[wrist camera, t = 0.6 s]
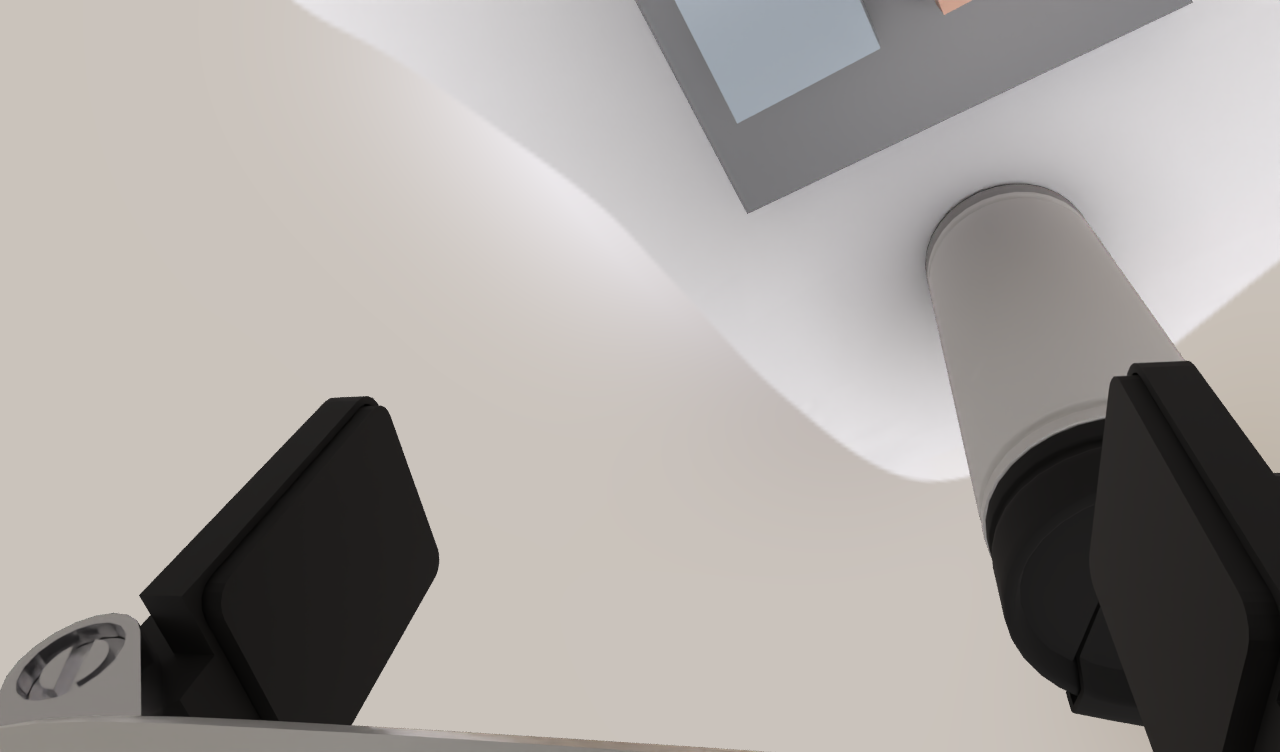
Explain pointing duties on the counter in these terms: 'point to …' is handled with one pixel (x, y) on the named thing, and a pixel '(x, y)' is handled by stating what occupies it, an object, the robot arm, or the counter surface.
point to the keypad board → (889, 81)
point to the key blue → (776, 45)
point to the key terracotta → (950, 5)
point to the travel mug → (1040, 414)
